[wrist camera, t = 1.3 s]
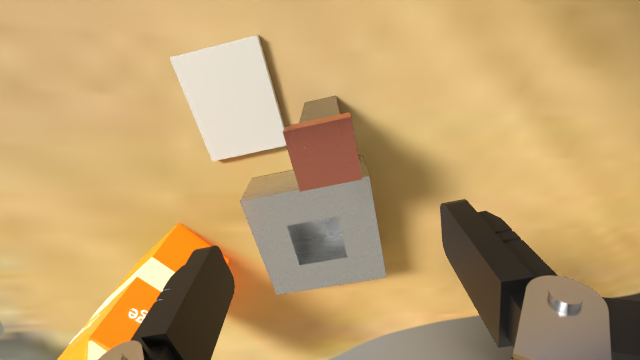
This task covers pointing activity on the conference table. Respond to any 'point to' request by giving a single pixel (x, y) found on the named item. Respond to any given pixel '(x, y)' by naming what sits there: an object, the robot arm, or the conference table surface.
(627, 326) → the robot arm
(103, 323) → the orange juice
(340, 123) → the key
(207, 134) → the pad
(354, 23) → the conference table surface
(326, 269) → the block
